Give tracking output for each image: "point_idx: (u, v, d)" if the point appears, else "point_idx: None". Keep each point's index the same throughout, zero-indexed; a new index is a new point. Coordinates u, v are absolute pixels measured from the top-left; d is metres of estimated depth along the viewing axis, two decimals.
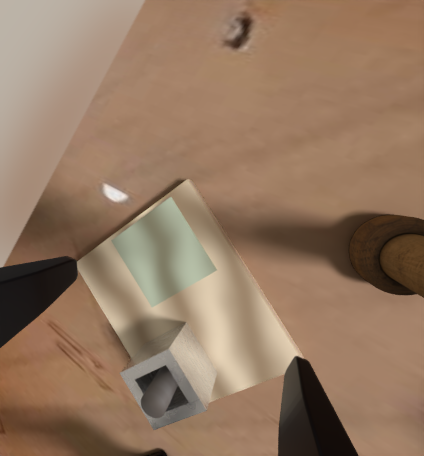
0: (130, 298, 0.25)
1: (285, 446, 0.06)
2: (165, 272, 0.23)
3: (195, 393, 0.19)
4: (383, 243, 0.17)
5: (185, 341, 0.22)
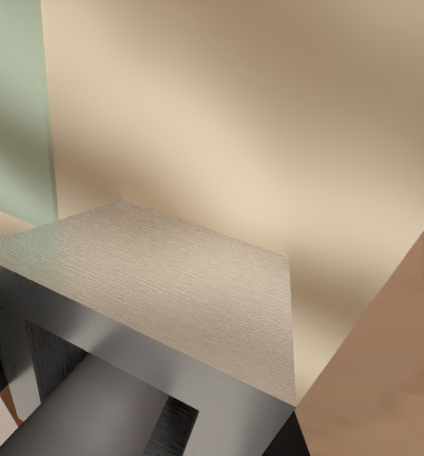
0: None
1: None
2: None
3: (180, 354, 0.03)
4: None
5: (112, 223, 0.06)
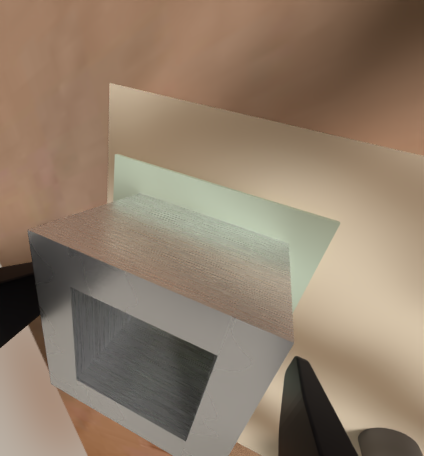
0: None
1: (285, 446, 0.06)
2: None
3: (204, 307, 0.04)
4: None
5: (135, 213, 0.07)
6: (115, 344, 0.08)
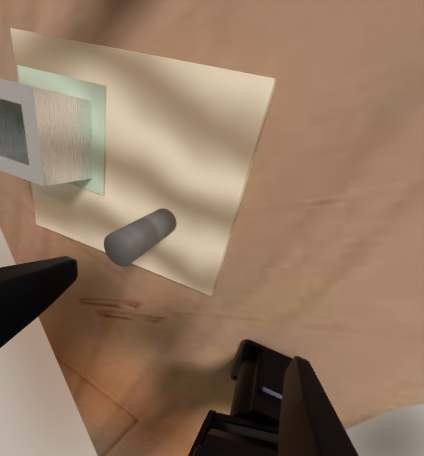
0: (87, 208, 0.22)
1: (285, 446, 0.06)
2: None
3: (12, 82, 0.14)
4: None
5: None
6: (14, 152, 0.18)
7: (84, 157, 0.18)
